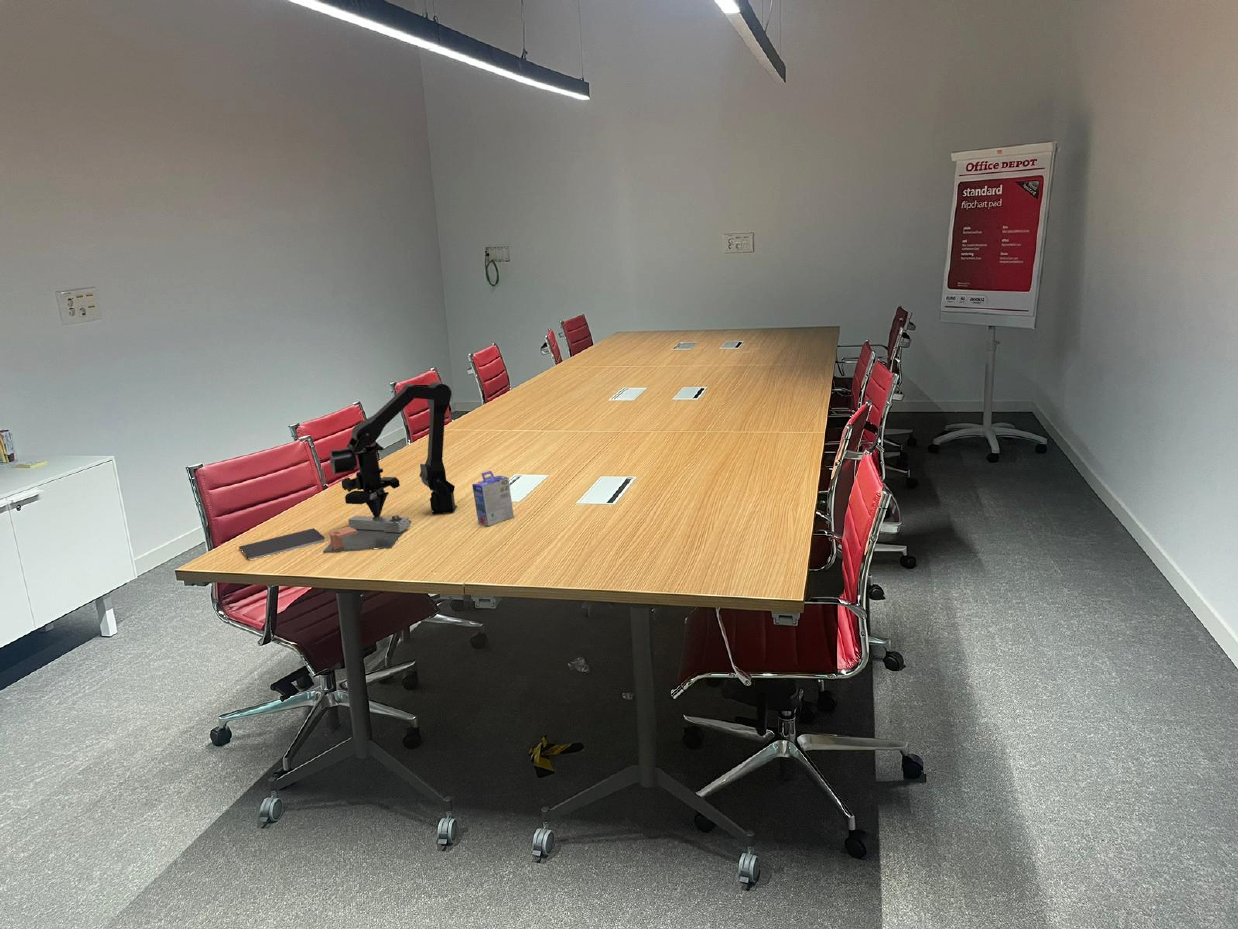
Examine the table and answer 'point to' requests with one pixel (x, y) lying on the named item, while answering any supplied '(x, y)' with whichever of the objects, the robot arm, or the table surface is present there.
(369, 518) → the link
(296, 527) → the table surface
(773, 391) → the table surface
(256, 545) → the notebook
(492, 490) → the ink cartridge box
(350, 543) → the pintle plate
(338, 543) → the keeper
